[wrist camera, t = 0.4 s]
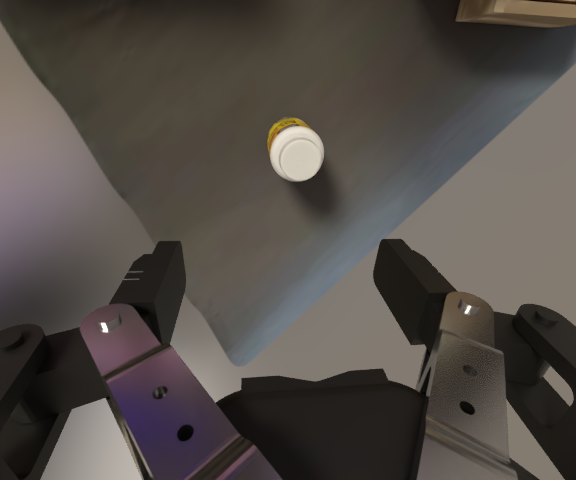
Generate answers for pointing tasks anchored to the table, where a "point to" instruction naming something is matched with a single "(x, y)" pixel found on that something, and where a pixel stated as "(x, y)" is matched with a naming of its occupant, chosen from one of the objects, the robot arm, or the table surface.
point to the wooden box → (517, 13)
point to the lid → (556, 1)
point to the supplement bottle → (294, 149)
